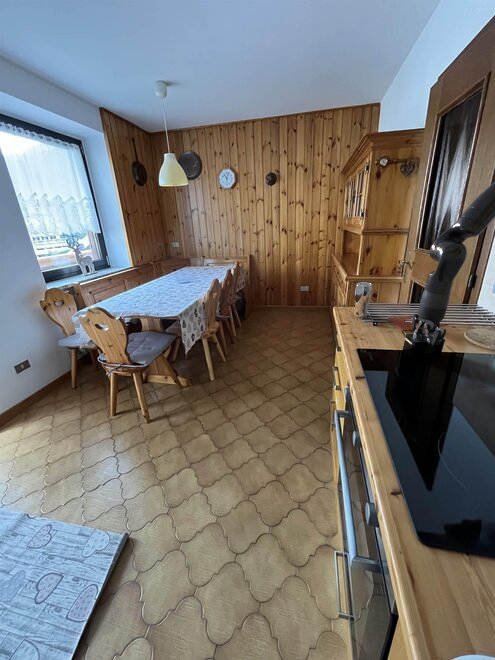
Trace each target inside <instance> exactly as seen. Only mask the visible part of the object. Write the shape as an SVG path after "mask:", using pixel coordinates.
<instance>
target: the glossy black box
mask: <svg viewBox="0 0 495 660" xmlns="http://www.w3.org/2000/svg"><path fill="white" fill-rule="evenodd" d="M429 334H430V335H433V334H434V333H429ZM432 340H433V337H431V341H432ZM437 341H438V340H437ZM445 342H446V339H445V338H443V341H442V343H441V345H435V346H434V350H433V352H432V353H425V349H426V345H427V337H426V335H425V331H424V332H423V333H414V332H413V333H406V334H405V336H404V342H403V346H402V350H401V351H402V352H403V353H404V354H405V355H406V356H407V357H408V358H409V359H410V360H411V361H415V360H426V359H438V358H441V356H442V352H443V349H444V345H445Z"/></svg>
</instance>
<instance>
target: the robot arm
mask: <svg viewBox="0 0 495 660" xmlns="http://www.w3.org/2000/svg"><path fill="white" fill-rule="evenodd" d="M493 220H495V181H494V182H492V183H491V184H490V185H489V186H488V187H487V188H485V189H484V191H482V192H481V193H480V194H479V195H478V196H477V197H476V198H475V199H474V200H473V201H472V202H471V203H470V204H469V206H468V207H467V208H466V209H465V211H464V212H463V213H462V214H461V216H460V217H459V218H458V219H457V221H455V222H454V223H453V224H452V225H451V226H449V227H448V228H447V229H446V230H445V231H444V232H442V233H441V234H440V235H439V236H438V237H437V238H436V239H435V240H434V242H433V243H432V244H431V246H430V249H429V257H430V258H431V259H432V260H433V261H434V262H437V263H438V264H437V267H436V269H435V270H432V271H429V273H428V274H427V278H426V281H425V286H424V290H423V292H422V294H421V297H420V298H421V299H420V303H419V307H418V311H417V313H413V315H412V316H413V321H412V330H411V331H413V333H424V332H425V335H426V337H427V345H426V349H425V353H432V352H433V350H434V346H435V345H441V343H442V341H443V339H445V336H446V334H447V329H445V328H441V321H442V320H443V321H444V319H445V317H446V314H447V313H446V312H447V309H448V306H449V303H450V298H451V292H452V288H453V285H454V282H455V279H456V277H457V276H458V274H459V273H460V271H461V269H462V268H463V266H464V264H465V262H466V260H467V256H468V249H467V246H466V244H464V242H465V241H466V240H468V239H470V238H476V237H478V236H479V235H480V234H481V233H483V232H484V231H485V229H486V228H487V227H488V226H489V225H490V224H491V223H492V221H493ZM415 324H417V326H415ZM429 333H434V334H433V335H430V334H429ZM431 337H433V340H432V341H431ZM437 340H438V341H437Z"/></svg>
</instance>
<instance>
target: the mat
mask: <svg viewBox="0 0 495 660" xmlns="http://www.w3.org/2000/svg"><path fill="white" fill-rule="evenodd" d="M412 317H413V315H408V316H407V315H405V316H396V317H387V320H388V321H390V322H391V323H392V324H393V325H394V326H396V327H397V329H399V330H400V331H402V332H410V331H413V330H412V323H410V322H405V321H404V320H406V319H411V318H412ZM415 326H417V324H415Z"/></svg>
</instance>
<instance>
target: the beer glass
mask: <svg viewBox="0 0 495 660" xmlns="http://www.w3.org/2000/svg"><path fill="white" fill-rule="evenodd" d="M372 292H373V283H371V282H369V281H359V282H356V284H355V288H354V310H353V316H354V317H355V318H359V319H364V318H367V317H368V307H369V304H370V301H371V298H372Z"/></svg>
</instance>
